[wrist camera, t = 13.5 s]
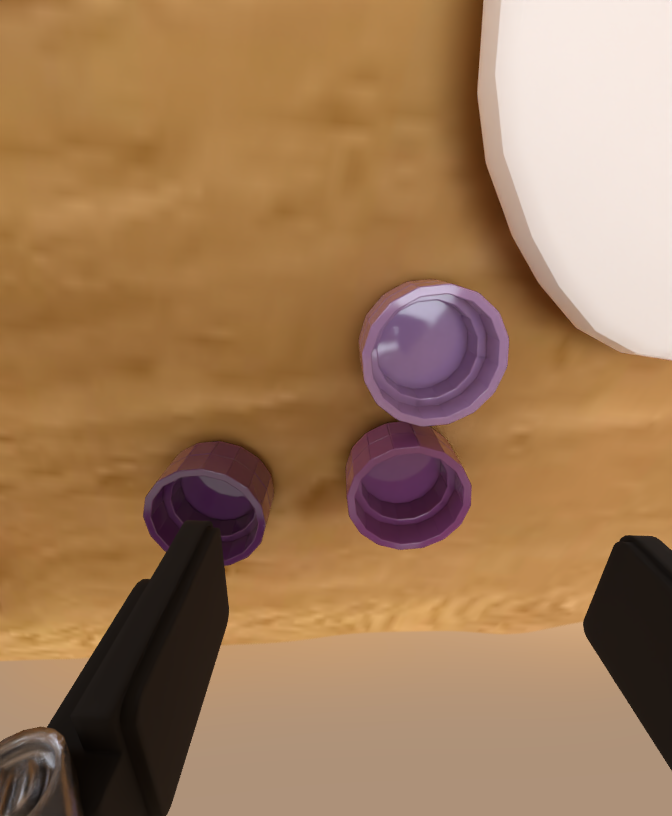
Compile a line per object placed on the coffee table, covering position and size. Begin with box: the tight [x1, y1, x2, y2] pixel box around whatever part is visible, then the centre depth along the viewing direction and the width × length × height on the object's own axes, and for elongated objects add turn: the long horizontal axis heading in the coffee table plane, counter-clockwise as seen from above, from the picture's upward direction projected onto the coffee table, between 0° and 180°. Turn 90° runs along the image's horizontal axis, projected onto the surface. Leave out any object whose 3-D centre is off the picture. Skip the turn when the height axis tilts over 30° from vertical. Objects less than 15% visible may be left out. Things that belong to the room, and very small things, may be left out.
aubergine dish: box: [143, 441, 274, 566], centre depth 23 cm, size 7×7×4 cm
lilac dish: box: [359, 279, 509, 426], centre depth 20 cm, size 7×7×4 cm
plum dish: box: [346, 421, 471, 550], centre depth 23 cm, size 7×7×4 cm
